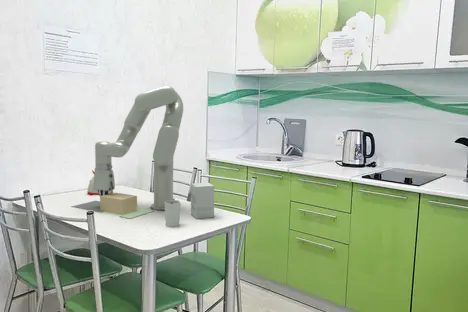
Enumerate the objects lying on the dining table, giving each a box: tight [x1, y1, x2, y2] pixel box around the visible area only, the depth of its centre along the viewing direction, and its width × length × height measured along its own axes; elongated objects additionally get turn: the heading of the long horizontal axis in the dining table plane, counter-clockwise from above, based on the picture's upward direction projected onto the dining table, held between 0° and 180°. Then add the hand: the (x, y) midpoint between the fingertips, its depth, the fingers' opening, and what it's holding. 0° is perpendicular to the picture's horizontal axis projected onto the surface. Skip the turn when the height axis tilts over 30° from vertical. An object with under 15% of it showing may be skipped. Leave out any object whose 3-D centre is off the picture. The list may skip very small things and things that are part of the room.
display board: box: [70, 200, 154, 220], centre depth 199 cm, size 39×16×1 cm, turn 62°
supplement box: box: [190, 182, 215, 220], centre depth 190 cm, size 9×9×15 cm
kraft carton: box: [99, 192, 138, 215], centre depth 195 cm, size 14×10×7 cm
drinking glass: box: [164, 199, 181, 227], centre depth 175 cm, size 7×7×10 cm
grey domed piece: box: [86, 169, 111, 196], centre depth 234 cm, size 14×14×15 cm
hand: (103, 203), depth 200 cm, fingers closed
